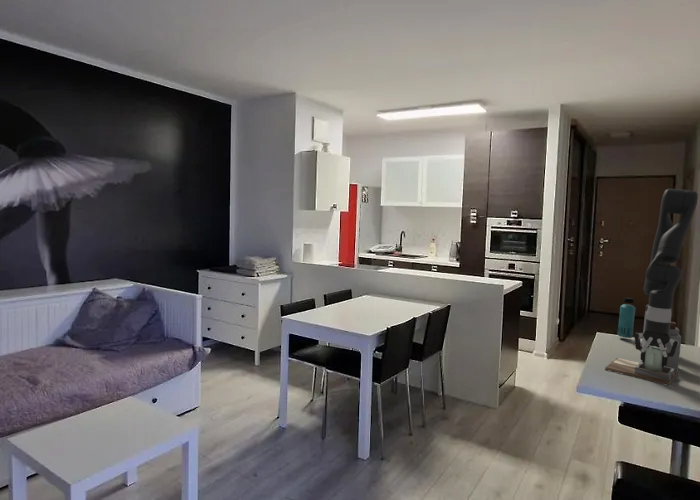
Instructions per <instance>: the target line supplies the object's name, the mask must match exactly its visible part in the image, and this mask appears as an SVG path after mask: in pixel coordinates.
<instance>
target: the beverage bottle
mask: <svg viewBox="0 0 700 500" xmlns="http://www.w3.org/2000/svg"><path fill="white" fill-rule="evenodd" d="M634 300H635V299H634V298H633V297H624V298H623V304H622V305H620V307H619V313H618V314H619V315H618V316H619V317H618V327H617V336H618V337H622V338H625V339H626V338H627V339H632V338H633V335H634V327H635V325H634V322H635V317H636V316H635V314H636V306H634V305H633V304H634Z"/></svg>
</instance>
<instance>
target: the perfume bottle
mask: <svg viewBox="0 0 700 500" xmlns="http://www.w3.org/2000/svg"><path fill="white" fill-rule="evenodd" d="M669 336H670V339H673V340H678V341H679V344H678V346H677V349H676V352H675V355H674V356H673V357H668V362H667V365H666V366H665V367H669V368H674V369H675V371H677V373H678V371H679V363H680V355H681V353H680V352H681V347H682V346H681V345H682V335H680V329H679V328H678V327H677V323H676V322H675V321H671V323H670V331H669ZM665 345H666V348H667V351H668V353H670V352H671V349H672V345H671V342H670V341H669V342H668V343H667V344H665Z"/></svg>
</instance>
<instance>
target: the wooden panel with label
mask: <svg viewBox="0 0 700 500" xmlns="http://www.w3.org/2000/svg"><path fill="white" fill-rule="evenodd" d="M605 370H607V371H610V372H615V373H617V372H618V373H619V374H621V373H622V374H621V375H625V374H626V376H629V375H631V376H630V377H633V376H634V378H637V379H643V380H646V381H651V382H654V383H659V384H661V385H662V384H663V385H666V386H669V385H670V383H671V382H672V380H673V379H674V378H675V377H676V375H677V374H678V372H677V371H675V369H674V368H669V367H665V366H664V367H662V372H655V371H651V370H647V369H644V362H642V360H640V362H637V361H633V360H629V359H625V358H620V357H617V358H615V359H614V360H613V361H611V362H610V363H609V364H608V365H606V366H605ZM618 373H617V374H618Z"/></svg>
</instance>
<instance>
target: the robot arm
mask: <svg viewBox="0 0 700 500" xmlns="http://www.w3.org/2000/svg"><path fill="white" fill-rule="evenodd" d="M698 199H699V195H698V193H697V192H696V191H694V190H688V189H679V188H668V189H665V190H664V192H663V195H662V198H661V202H660V209H659V217H658V223H657V224H658V225H657V228H656V232H655V236H654V240H653V244H652V250H651V257H650V262H649V265H648V267H647V268H646V271H645V280H644V283H643V292H644V294H645V296H648V304H646V305H645V309H644V310H645V312H644V320H643V321H644V322H643V329H642V332H636V333H633V335H634V345H635V349H636V350H637V351H640V361H642V362H645V353H646V348H647V347H649V346H655V347H659V348H660V349H661V351H662V353H663V358H662V367H664V366H666V365H667V362H668V357H673V356H674V355H675V352H676V349H677V346H678V344H679V341H678V340H673V339H670V336H669V331H670V323H671V322H672V305H673V298H674V294H675V292H676V289H677V287H678V284H679V283H680V280H681V278H682V271H681V268H680V267H678V266H675V265H671V264H673V263H676V262H678V261H679V260H680V257H681V252H682V248H683V242H684V241H685V240H684V239H685V237H686V234H687V232H688V229H689V227H690V225H691V222H692V220H693V216H694V213H695V211H696V207H697V206H698V205H697V204H698ZM671 214H674V215H675V214H677V215H682V217H681V218H680V219H679V221H678V222H676V223H675V225H674V223H673V222H672V218H671ZM669 341H670V342H671V345H672V349H671V352H670V353H668V351H667V348H666V345H665V344H667V343H668V342H669Z"/></svg>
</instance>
